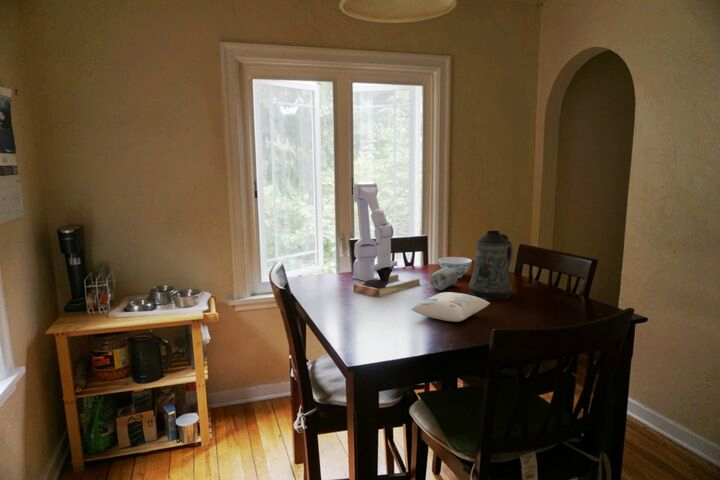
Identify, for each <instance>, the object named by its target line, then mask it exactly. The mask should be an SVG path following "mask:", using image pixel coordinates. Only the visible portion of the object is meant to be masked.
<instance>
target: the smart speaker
mask: <svg viewBox="0 0 720 480" xmlns="http://www.w3.org/2000/svg"><path fill="white" fill-rule="evenodd" d="M364 282H365V283H364ZM364 282H363V283H364V285H365V286H369V287H373V288H378V289H381V288H385V287H387V285H386V283H385V281H383V280H375V279H373V280H368V281H364Z"/></svg>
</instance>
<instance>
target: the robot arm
mask: <svg viewBox="0 0 720 480" xmlns="http://www.w3.org/2000/svg"><path fill="white" fill-rule="evenodd" d="M378 192H379V188H378V184H377V183H376V182H375V181H373V182H355V183H354V184H353V187H352V193H353V195H352V196H353V201H354V202H355V203H356V207H357V218H358V228H359V230H358V231H359V239H358V240H357V241H356V242H355V243H354V250H353V255H354V258H356V259H355V260H354V262H353V276H352V279H355V280H361V281H364V282H366V281H368V280H375V279H379V278H380V280H383V281H385V283H386V286H388V284H389V282H388V280H389V276H390V275H392V272H393V268H392V267H397V266H398V261H396V260H392V241H391V239H392V238H393V236H394V228H393V226H392V224H391V223H390V222H388V221H387V218H386V215H385V212H384V210H381V208H380V204H379V201H378V197H377V196H378ZM369 209H370V211H371V215H370V213H369ZM370 217H371V218H370ZM370 219H371V220H372V223H373V226H374V230H373V231H374V232H373V233H374V238H375V240H374V239H373V238H372V237H371V226H370V225H371V223H370ZM376 259H377V260H376ZM375 260H376V261H377V262H376V263H375ZM375 272H376V273H377V274H378V276H375Z"/></svg>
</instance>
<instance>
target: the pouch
mask: <svg viewBox="0 0 720 480" xmlns="http://www.w3.org/2000/svg"><path fill="white" fill-rule="evenodd" d="M489 305H491V302H489V301H487V300H486V299H481V298H479V297H475V296H472V295H471V294H466V293H462V292H461V293H459V292H453V291H451V292H450V291H448V292H447V291H446V292H445V291H444V292H440V293H437V294H435V295H433V296H431V297H428V298H426V299H425V300H422V301H421V302H418V303H417V304H416V305H414V306H413V307H412V308H411V309H410V310H411V311H413V312H414V313H416V314H418V315H421V316H425V317H427V318H432V319H436V320H440V321H446V322H455V323H457V322H462V321H464V320H466V319H467V318H469V317H471V316H473V315H475V314H476V313H479V312H480V311H481V310H483V309H485V308H486V307H487V306H489Z"/></svg>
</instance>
